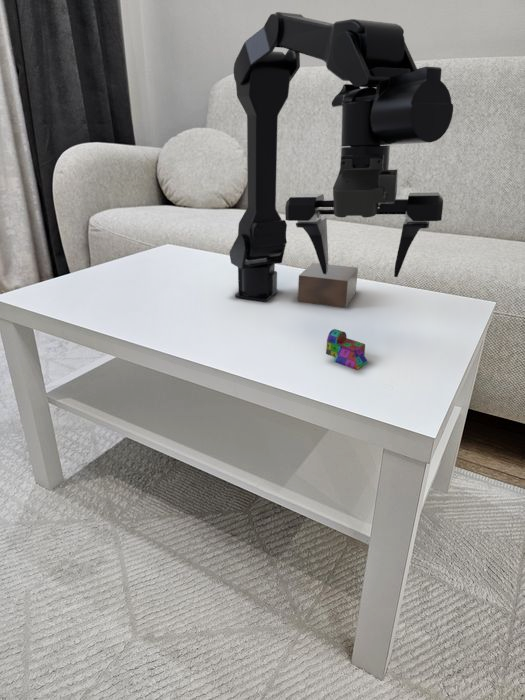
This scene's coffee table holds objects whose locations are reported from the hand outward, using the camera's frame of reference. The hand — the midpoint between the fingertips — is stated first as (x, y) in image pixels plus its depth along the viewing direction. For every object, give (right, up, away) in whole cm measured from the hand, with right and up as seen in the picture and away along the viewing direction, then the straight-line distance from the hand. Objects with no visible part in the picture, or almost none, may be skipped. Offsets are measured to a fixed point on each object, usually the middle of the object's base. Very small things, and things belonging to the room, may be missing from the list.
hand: (359, 275), depth 62 cm
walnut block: (0, 0, +28) cm, 28 cm away
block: (-1, -11, +5) cm, 12 cm away
